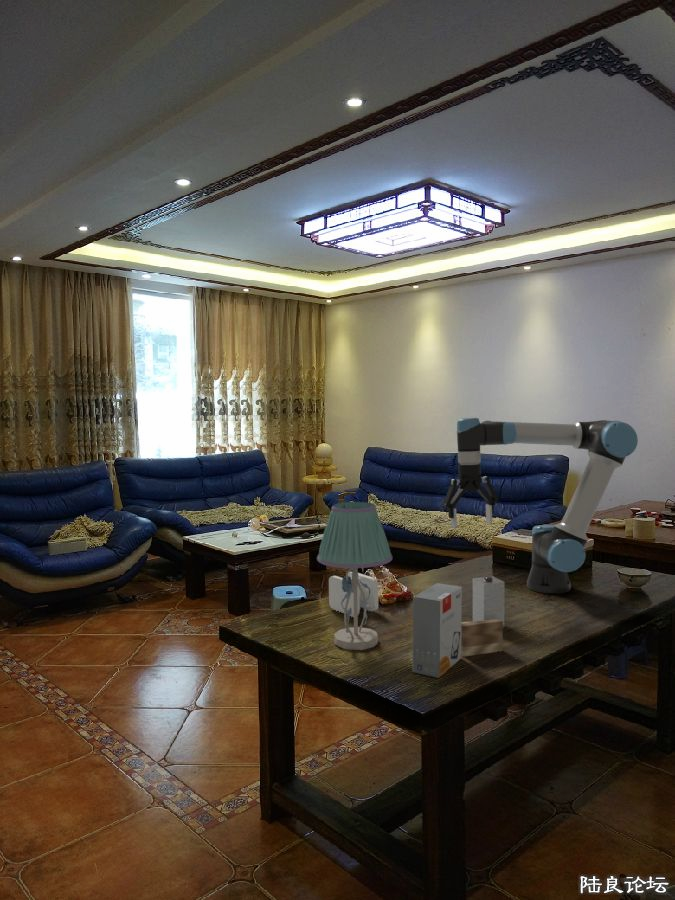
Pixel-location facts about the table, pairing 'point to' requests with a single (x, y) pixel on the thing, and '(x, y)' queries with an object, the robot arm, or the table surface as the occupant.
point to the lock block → (488, 599)
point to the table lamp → (354, 561)
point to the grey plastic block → (338, 595)
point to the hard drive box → (437, 629)
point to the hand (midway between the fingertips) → (471, 525)
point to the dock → (481, 637)
